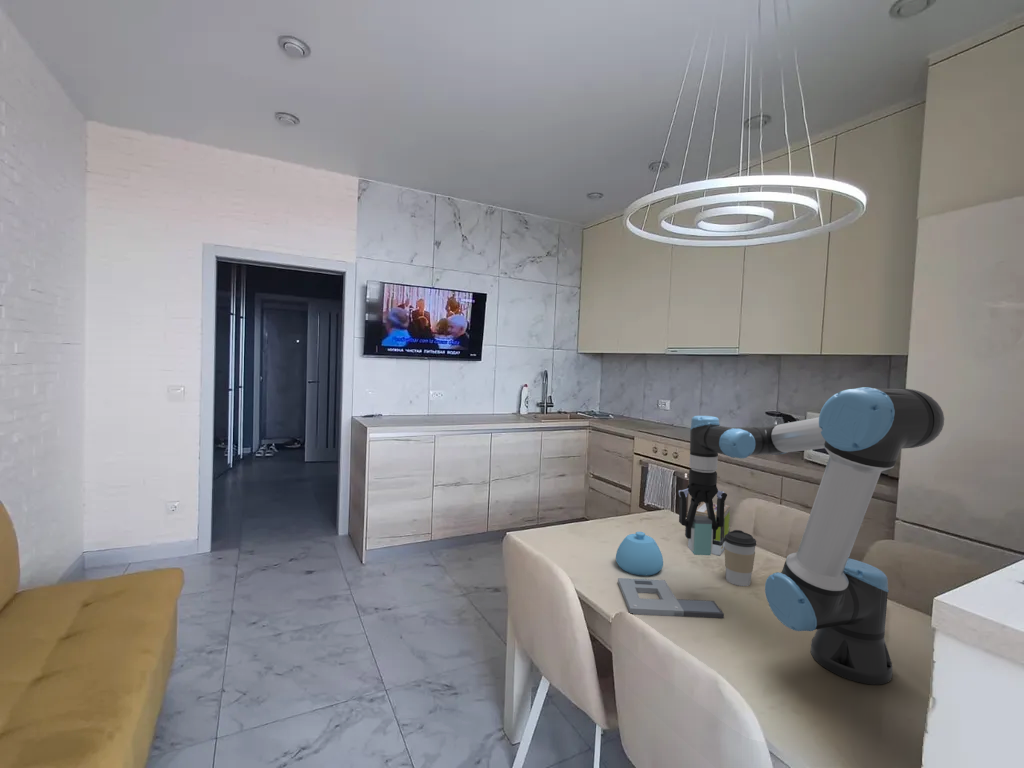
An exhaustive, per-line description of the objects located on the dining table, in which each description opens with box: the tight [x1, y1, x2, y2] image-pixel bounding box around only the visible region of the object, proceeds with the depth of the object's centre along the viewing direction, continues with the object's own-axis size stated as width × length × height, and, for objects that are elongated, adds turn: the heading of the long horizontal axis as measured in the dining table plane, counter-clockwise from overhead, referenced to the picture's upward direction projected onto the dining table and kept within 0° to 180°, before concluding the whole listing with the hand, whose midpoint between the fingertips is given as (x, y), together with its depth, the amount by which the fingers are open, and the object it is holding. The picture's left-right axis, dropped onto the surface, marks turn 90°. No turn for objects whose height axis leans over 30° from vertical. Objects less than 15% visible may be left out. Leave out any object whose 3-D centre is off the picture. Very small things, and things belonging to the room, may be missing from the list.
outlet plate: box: [617, 577, 684, 617], centre depth 136 cm, size 18×14×2 cm
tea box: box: [695, 502, 731, 556], centre depth 177 cm, size 15×10×15 cm, turn 144°
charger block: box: [691, 515, 712, 556], centre depth 139 cm, size 4×4×10 cm
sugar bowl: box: [615, 531, 664, 577], centre depth 157 cm, size 15×15×12 cm
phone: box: [674, 598, 725, 619], centre depth 131 cm, size 7×13×1 cm, turn 88°
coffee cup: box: [724, 529, 757, 587], centre depth 149 cm, size 9×9×15 cm
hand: (699, 549), depth 139 cm, fingers closed on charger block, 4 cm apart
